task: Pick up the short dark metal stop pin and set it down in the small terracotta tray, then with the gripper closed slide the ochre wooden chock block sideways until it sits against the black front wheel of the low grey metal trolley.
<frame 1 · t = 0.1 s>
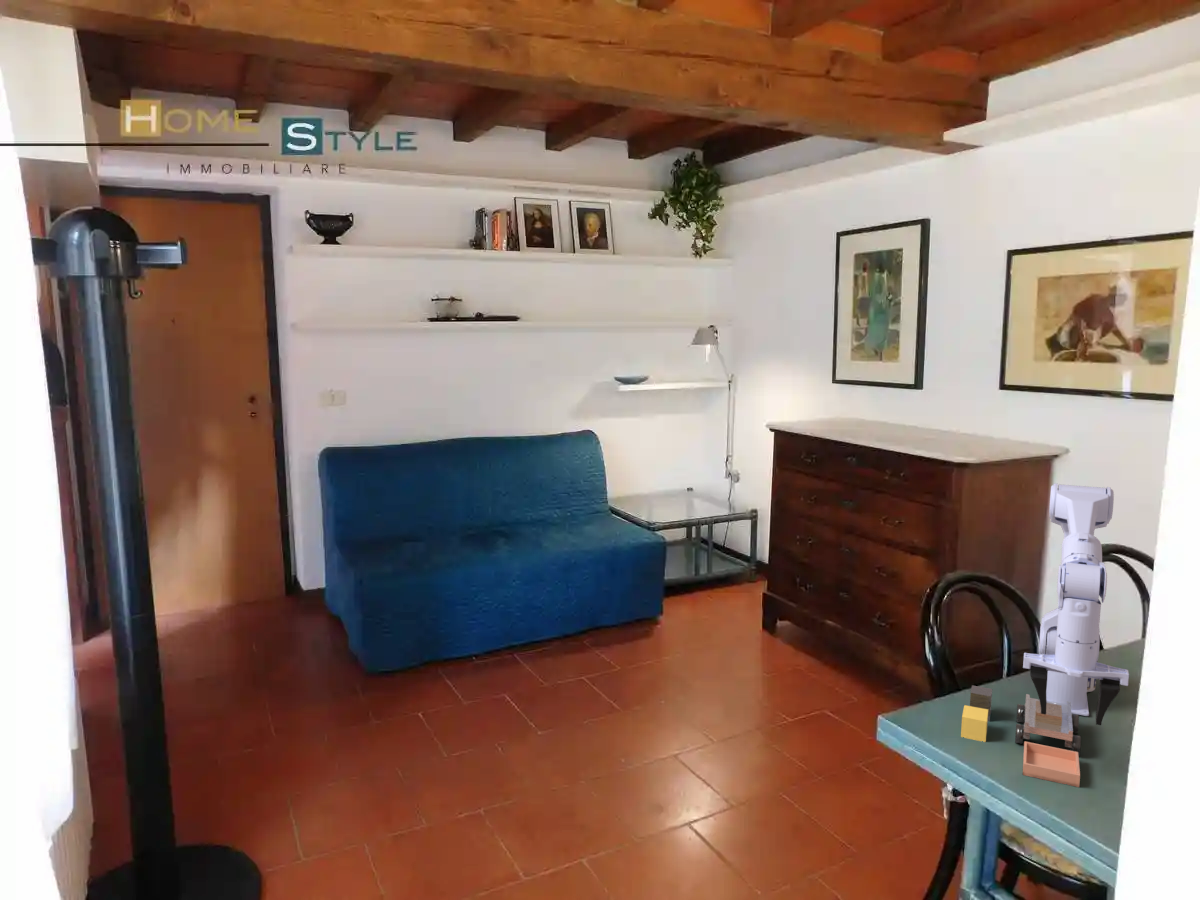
hand: (1070, 716, 132), 10 cm above the table, tool pointing down, fingers open, 7 cm apart
tray: (1050, 768, 135), on the table
trolley: (1046, 736, 145), on the table
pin: (979, 715, 153), on the table
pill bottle: (1079, 687, 165), on the table
chock: (974, 733, 147), on the table
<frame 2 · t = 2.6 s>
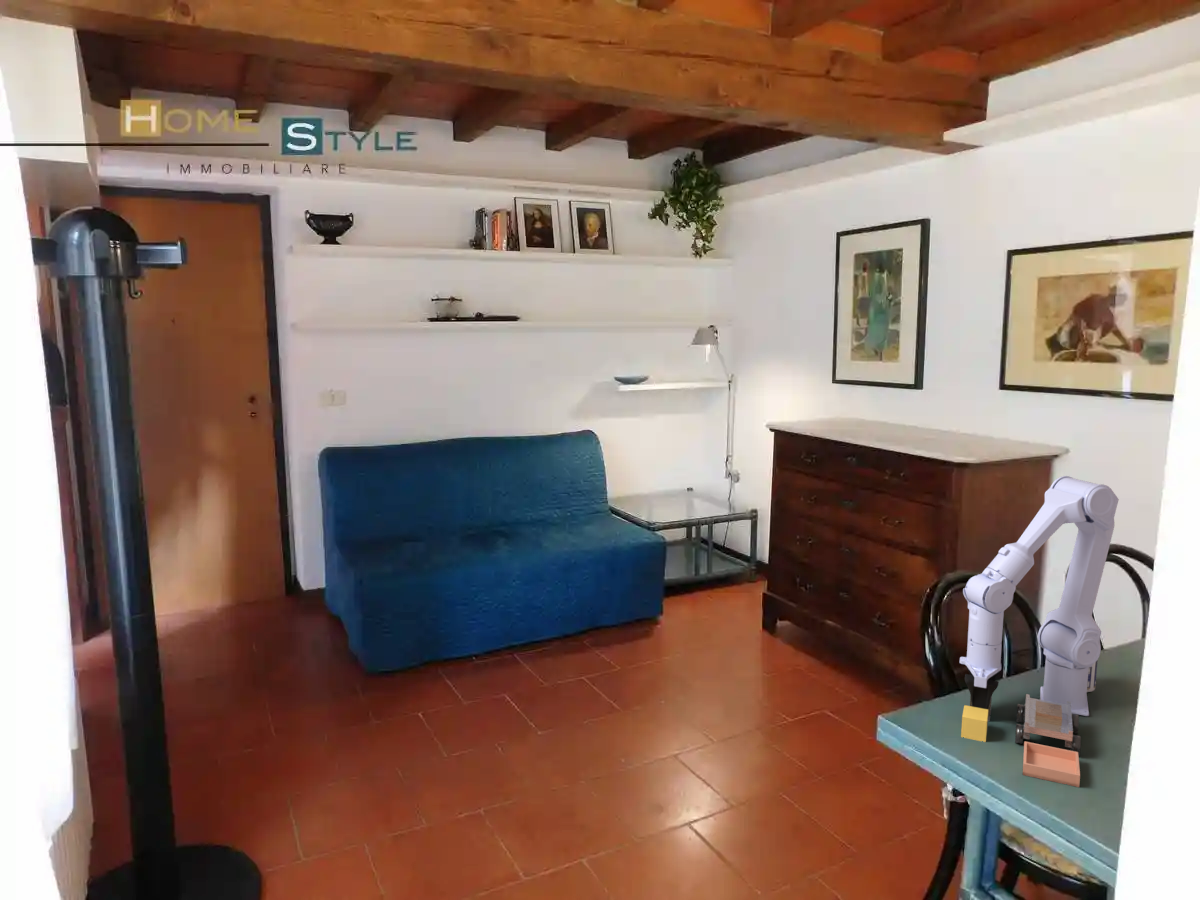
hand: (980, 708, 153), 1 cm above the table, tool pointing down, fingers closed on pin, 3 cm apart
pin: (979, 715, 153), on the table, touching gripper
everything else where it was.
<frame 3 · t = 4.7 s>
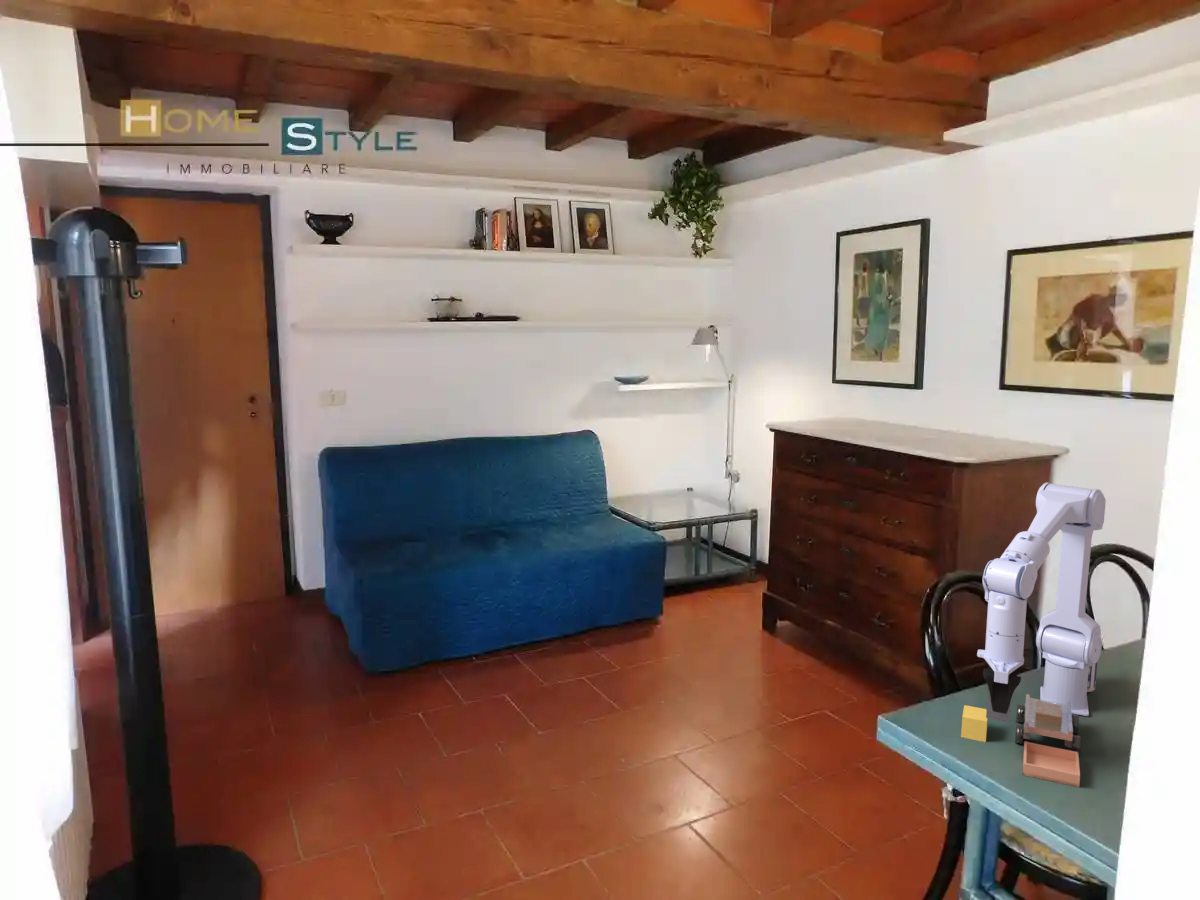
hand: (1000, 706, 138), 9 cm above the table, tool pointing down, fingers closed on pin, 3 cm apart
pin: (998, 715, 138), point 7 cm above the table, touching gripper
everything else where it was.
when the fingers open (3 cm above the table, at t = 6.6 s): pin stays where it is, resting on tray.
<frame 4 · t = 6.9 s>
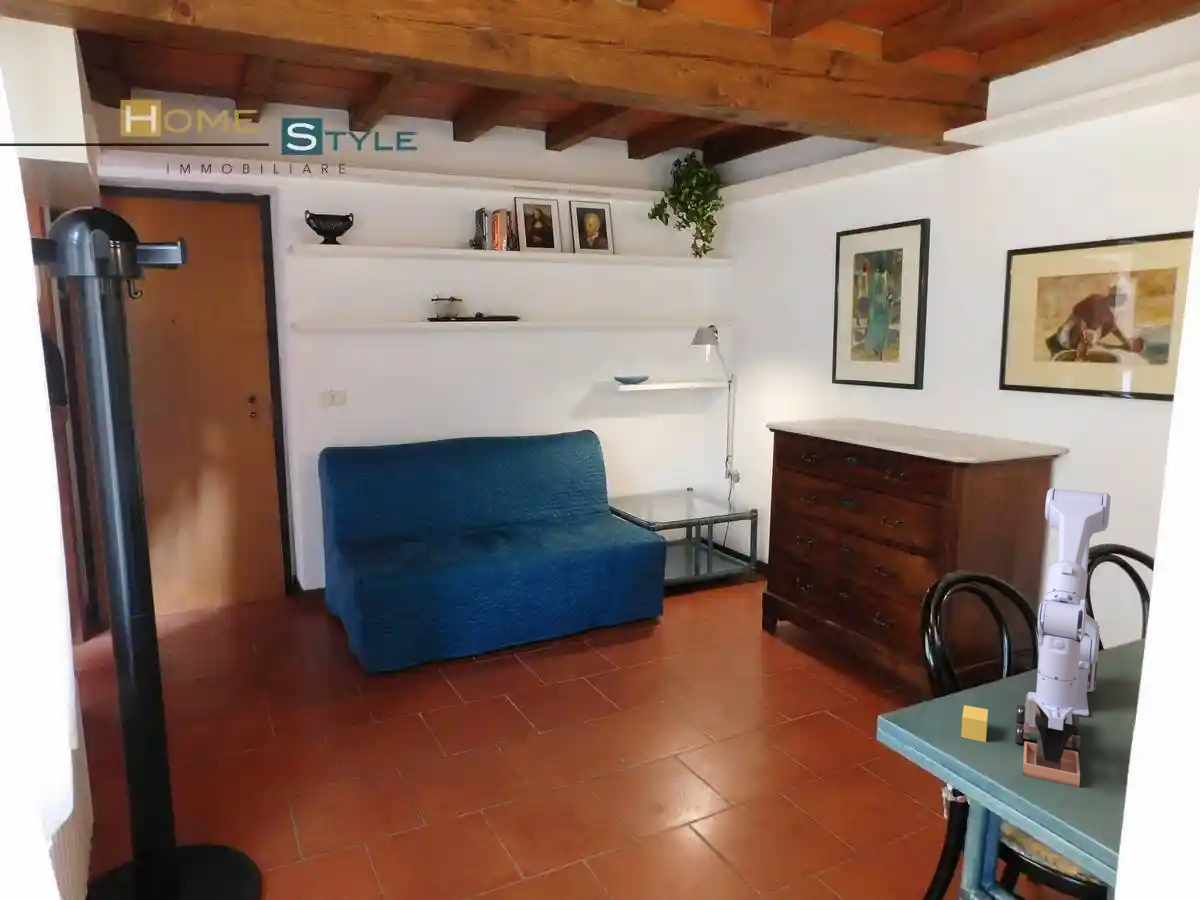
hand: (1051, 751, 134), 3 cm above the table, tool pointing down, fingers open, 6 cm apart
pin: (1047, 765, 135), resting on tray
everything else where it was.
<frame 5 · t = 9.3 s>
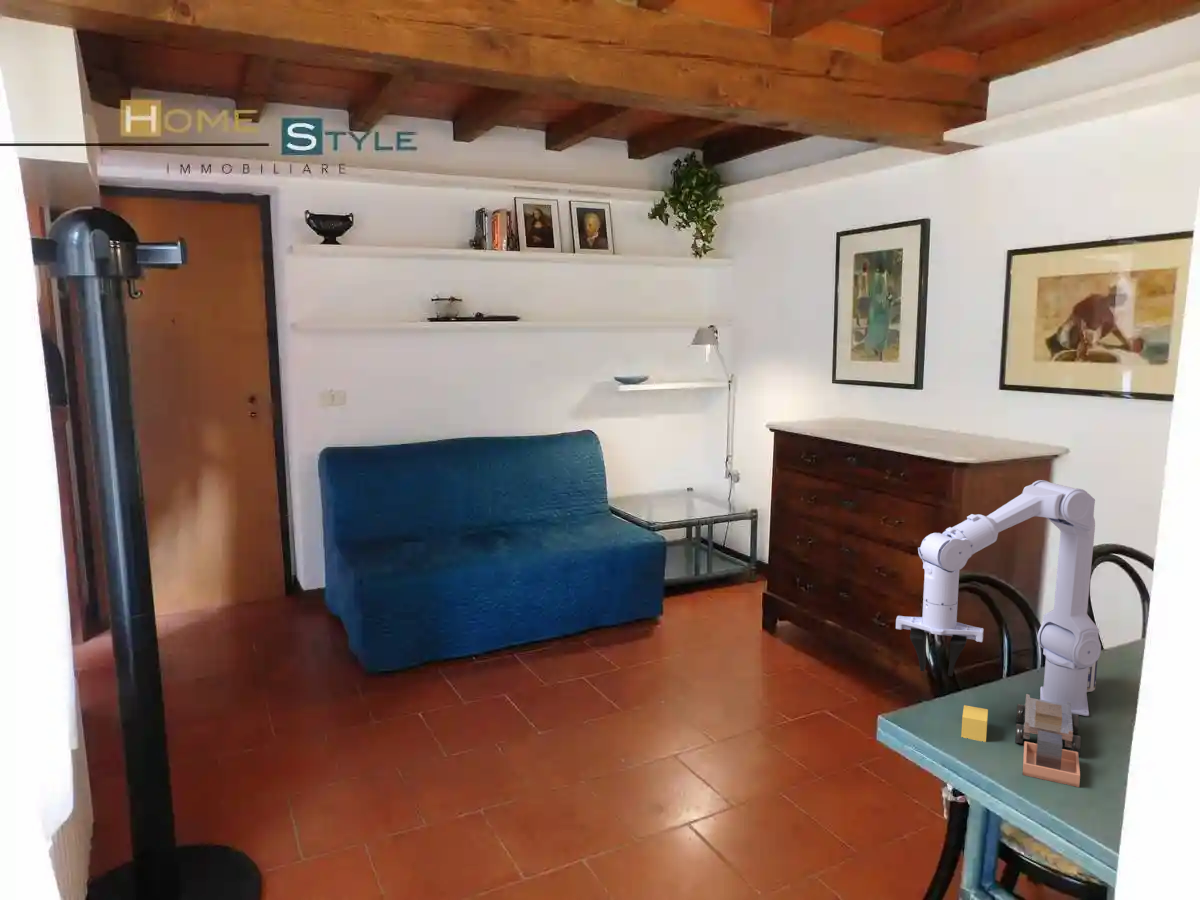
hand: (936, 671, 148), 10 cm above the table, tool pointing down, fingers open, 4 cm apart
nothing on the table moved.
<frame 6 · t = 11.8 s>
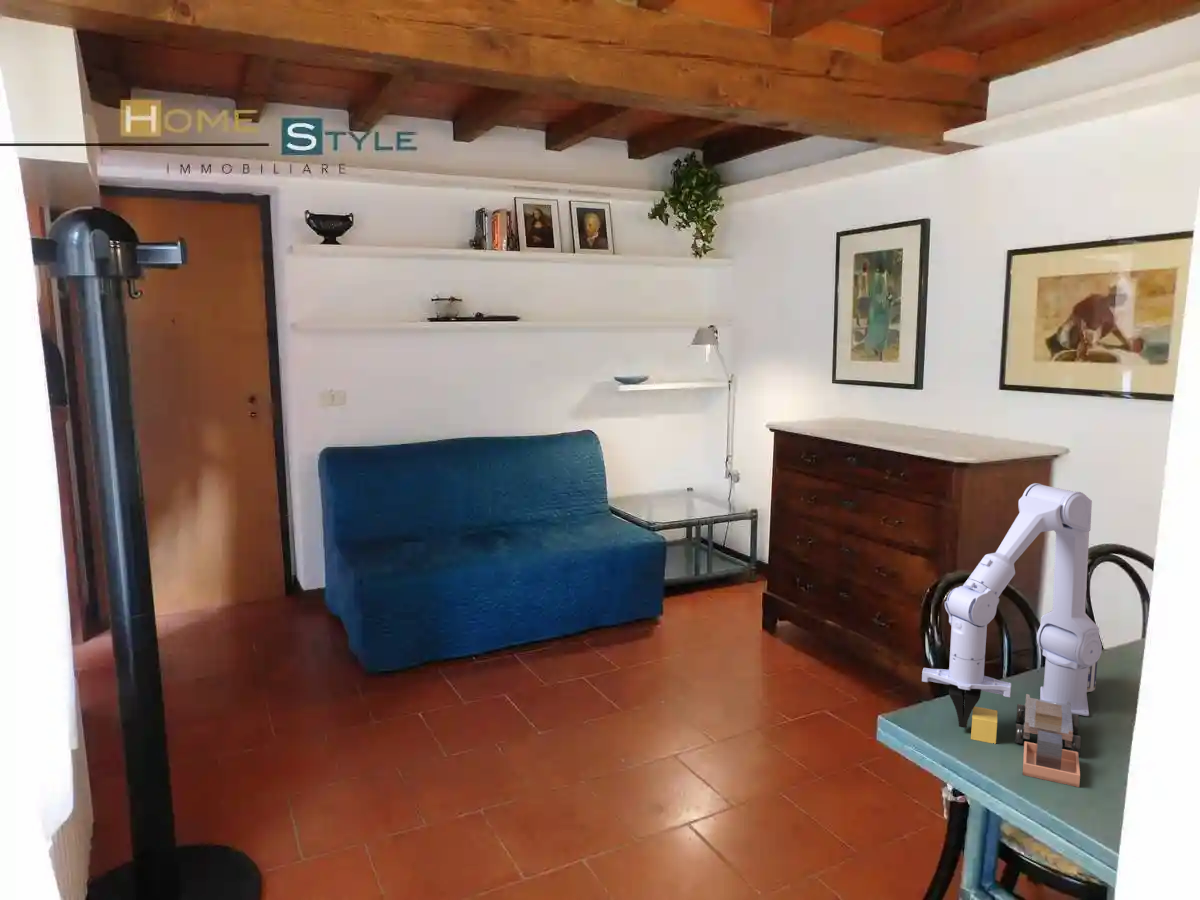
hand: (963, 725, 148), 1 cm above the table, tool pointing down, fingers closed
chock: (983, 735, 146), on the table, touching gripper
everything else where it was.
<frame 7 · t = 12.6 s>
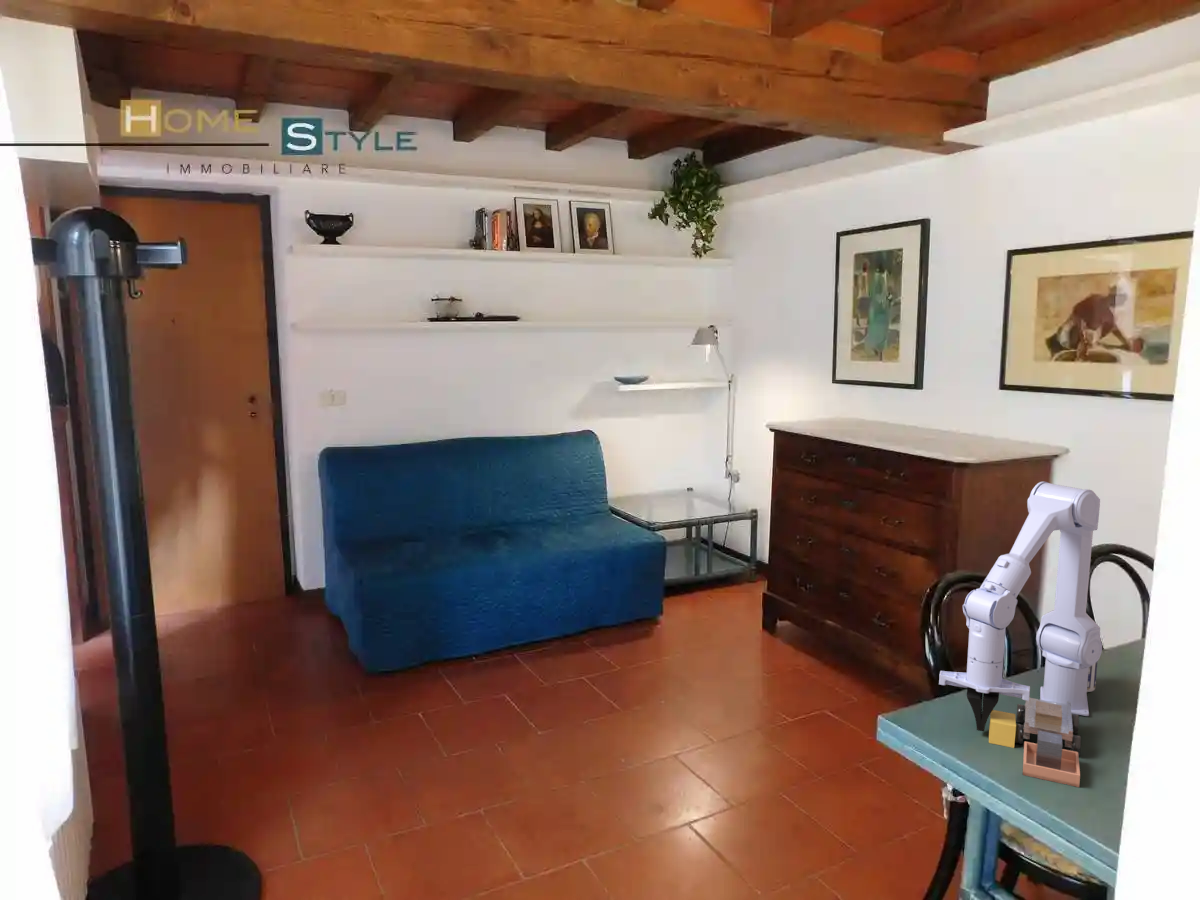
hand: (980, 728, 146), 1 cm above the table, tool pointing down, fingers closed
chock: (1001, 738, 145), on the table, touching gripper
everything else where it was.
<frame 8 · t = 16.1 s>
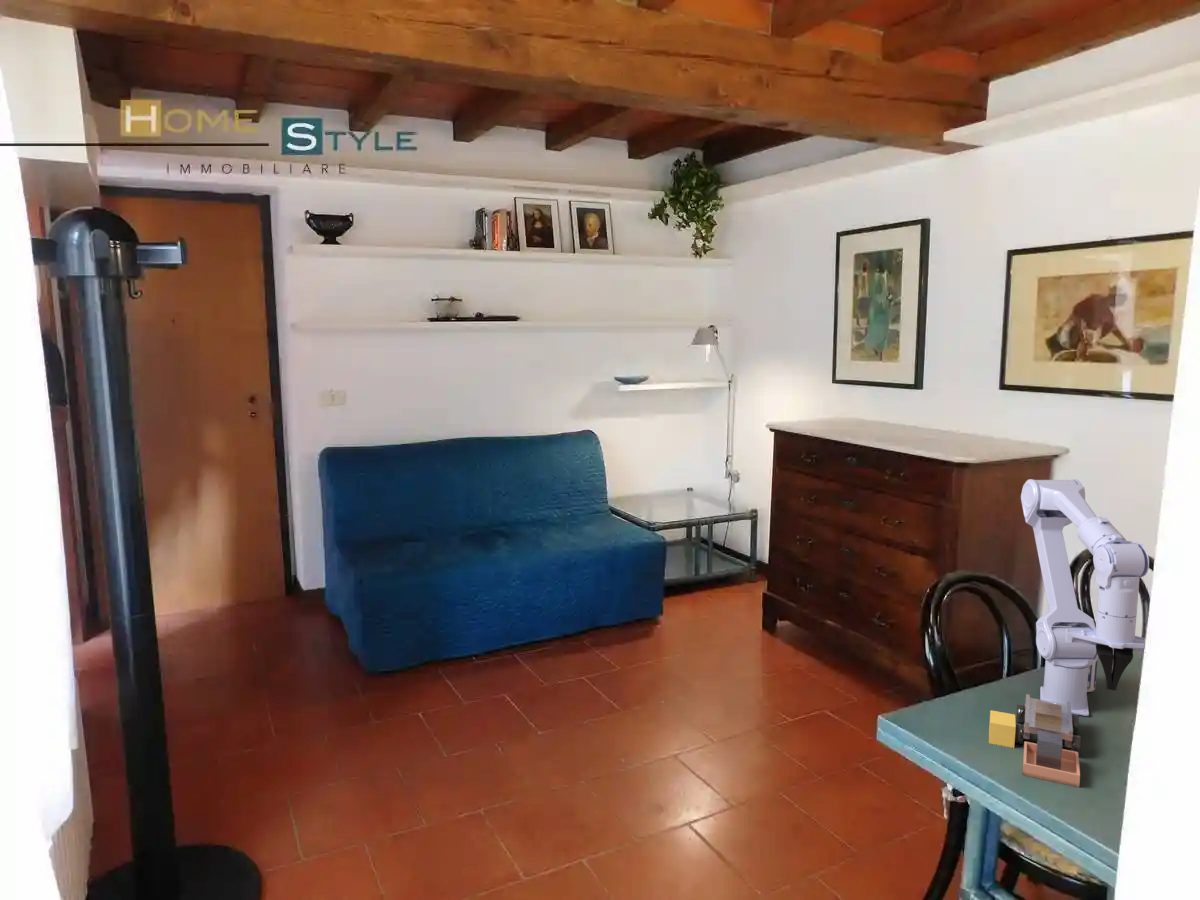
hand: (1110, 687, 141), 10 cm above the table, tool pointing down, fingers closed
chock: (1001, 739, 145), on the table
everything else where it was.
at the end: chock 1.2 cm from the target spot, on the table; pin 0.4 cm off-centre on the tray, point 0.5 cm above the tray's base; the gripper is holding nothing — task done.
